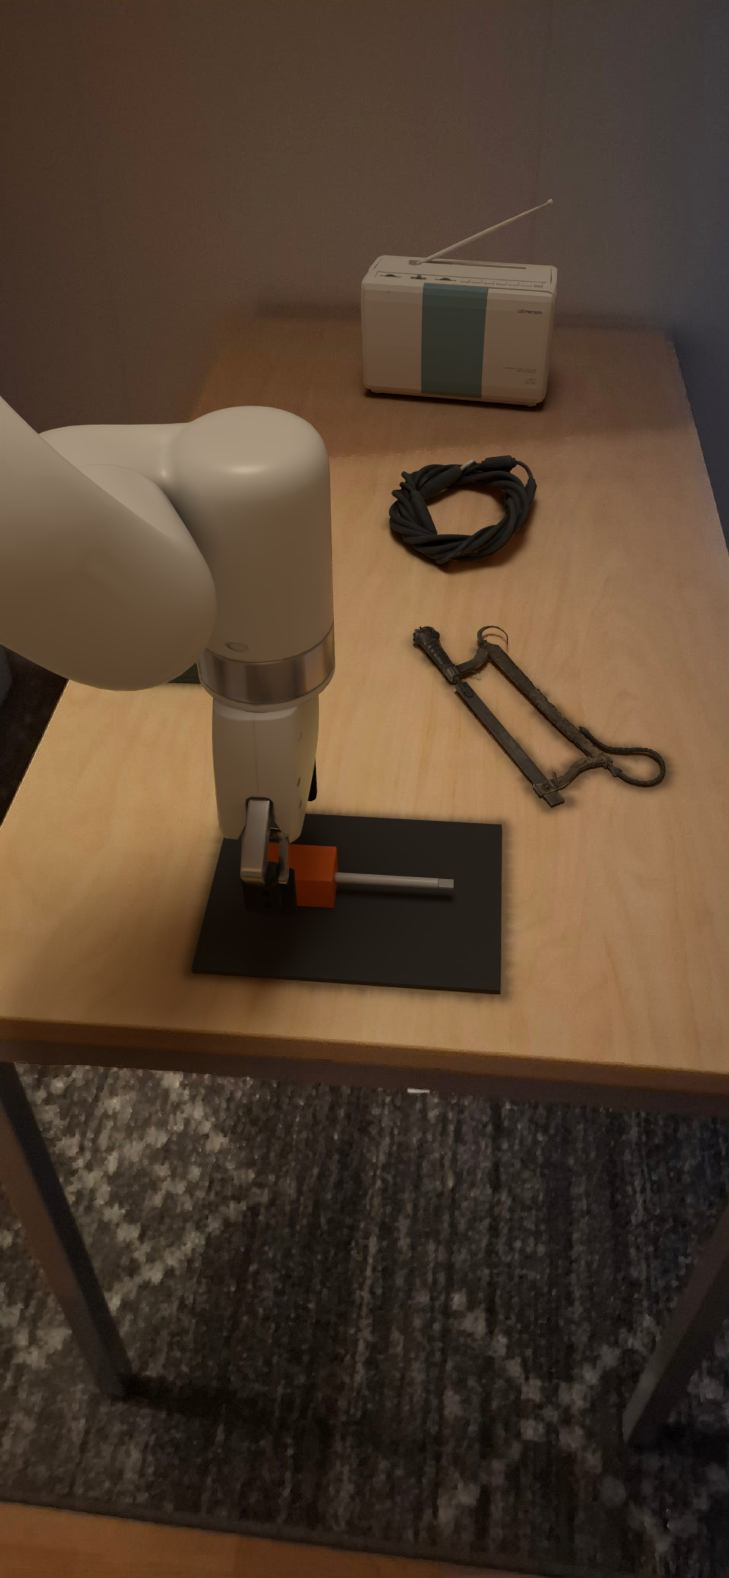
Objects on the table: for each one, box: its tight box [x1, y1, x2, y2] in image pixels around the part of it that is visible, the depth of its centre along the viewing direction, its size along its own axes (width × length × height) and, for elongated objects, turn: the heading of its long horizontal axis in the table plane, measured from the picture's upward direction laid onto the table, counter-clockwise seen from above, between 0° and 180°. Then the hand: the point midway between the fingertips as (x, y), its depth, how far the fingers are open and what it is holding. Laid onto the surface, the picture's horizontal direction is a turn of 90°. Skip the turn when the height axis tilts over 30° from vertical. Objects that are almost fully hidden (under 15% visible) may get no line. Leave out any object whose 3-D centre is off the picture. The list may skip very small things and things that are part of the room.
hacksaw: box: [412, 625, 667, 806], centre depth 84 cm, size 24×10×2 cm, turn 26°
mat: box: [190, 812, 503, 994], centre depth 72 cm, size 20×14×1 cm
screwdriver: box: [267, 843, 454, 908], centre depth 70 cm, size 13×3×3 cm, turn 85°
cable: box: [388, 454, 538, 565], centre depth 101 cm, size 17×14×4 cm
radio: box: [360, 198, 558, 407], centre depth 114 cm, size 21×8×20 cm, turn 77°
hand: (283, 850), depth 68 cm, fingers open, 9 cm apart
